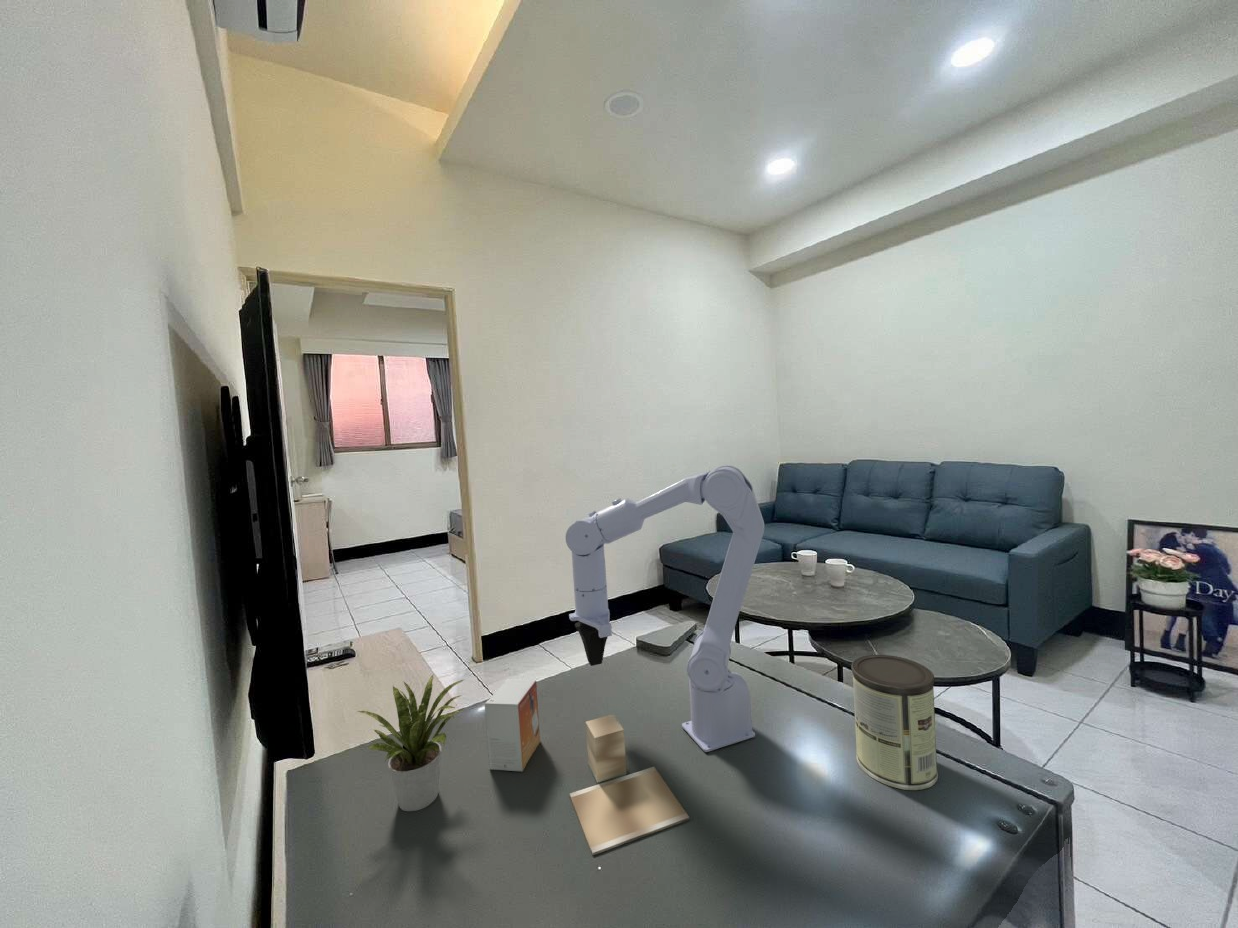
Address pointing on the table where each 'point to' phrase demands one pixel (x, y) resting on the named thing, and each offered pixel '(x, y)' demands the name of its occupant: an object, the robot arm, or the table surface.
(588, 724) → the beech block
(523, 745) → the small box
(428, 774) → the house plant
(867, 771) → the coffee can
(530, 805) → the table surface
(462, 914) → the table surface
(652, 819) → the tan flat rectangular panel
